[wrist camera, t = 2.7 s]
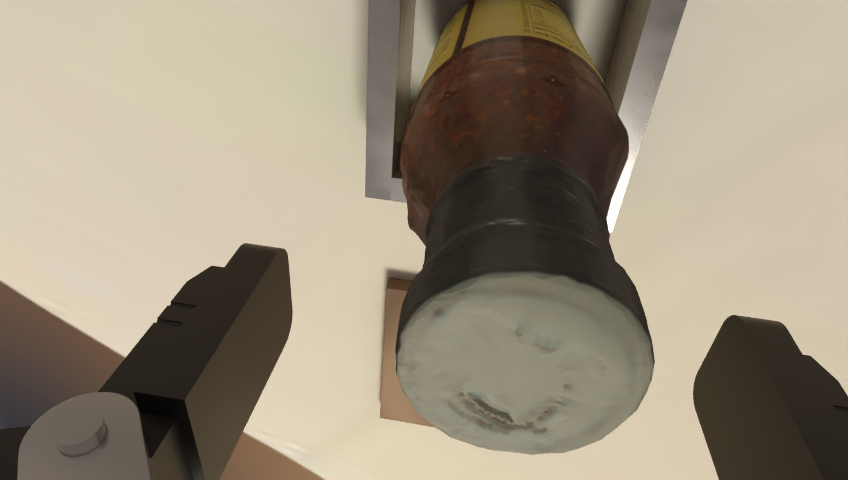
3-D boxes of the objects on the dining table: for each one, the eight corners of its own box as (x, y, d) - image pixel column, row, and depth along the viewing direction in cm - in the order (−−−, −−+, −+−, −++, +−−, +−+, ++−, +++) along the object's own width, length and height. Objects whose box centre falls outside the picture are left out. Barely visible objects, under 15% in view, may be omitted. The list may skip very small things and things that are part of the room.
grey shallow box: (684, -93, 21) (715, -86, 18) (601, 189, 28) (611, 231, 25) (393, -120, 22) (371, -120, 19) (382, 160, 29) (365, 196, 26)
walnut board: (589, 308, 32) (591, 319, 31) (547, 434, 39) (548, 446, 38) (389, 278, 33) (386, 288, 32) (382, 406, 40) (380, 417, 39)
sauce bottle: (476, 140, 28) (412, 529, 11) (414, 25, 25) (213, 312, 8) (604, 82, 25) (764, 471, 9) (551, -53, 22) (639, 141, 6)
